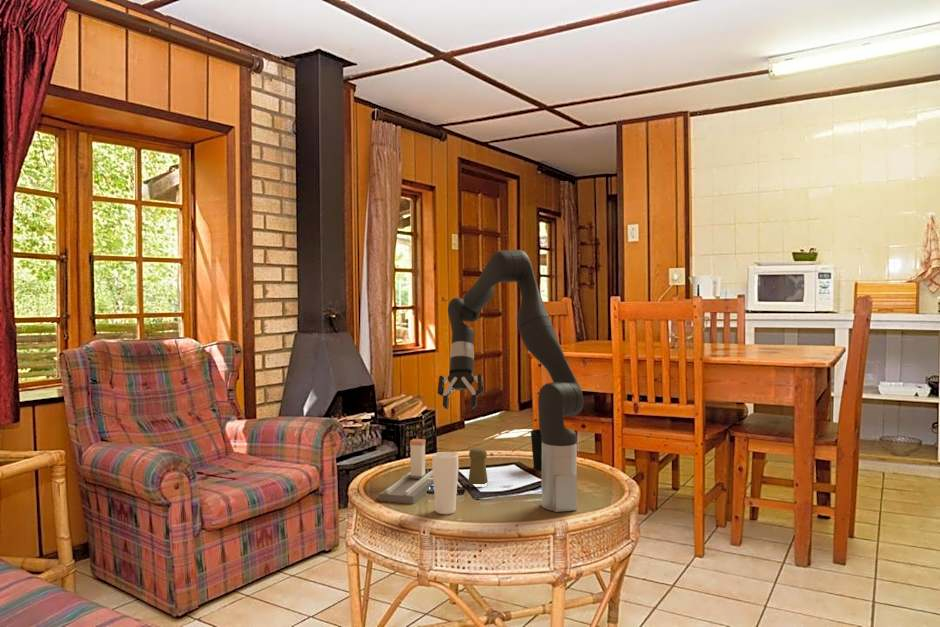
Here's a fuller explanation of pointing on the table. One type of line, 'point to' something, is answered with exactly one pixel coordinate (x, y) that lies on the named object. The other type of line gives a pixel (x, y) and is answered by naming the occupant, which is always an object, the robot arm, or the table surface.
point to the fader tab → (417, 458)
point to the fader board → (407, 489)
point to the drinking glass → (445, 481)
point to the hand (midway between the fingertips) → (459, 408)
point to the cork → (478, 466)
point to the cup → (537, 449)
